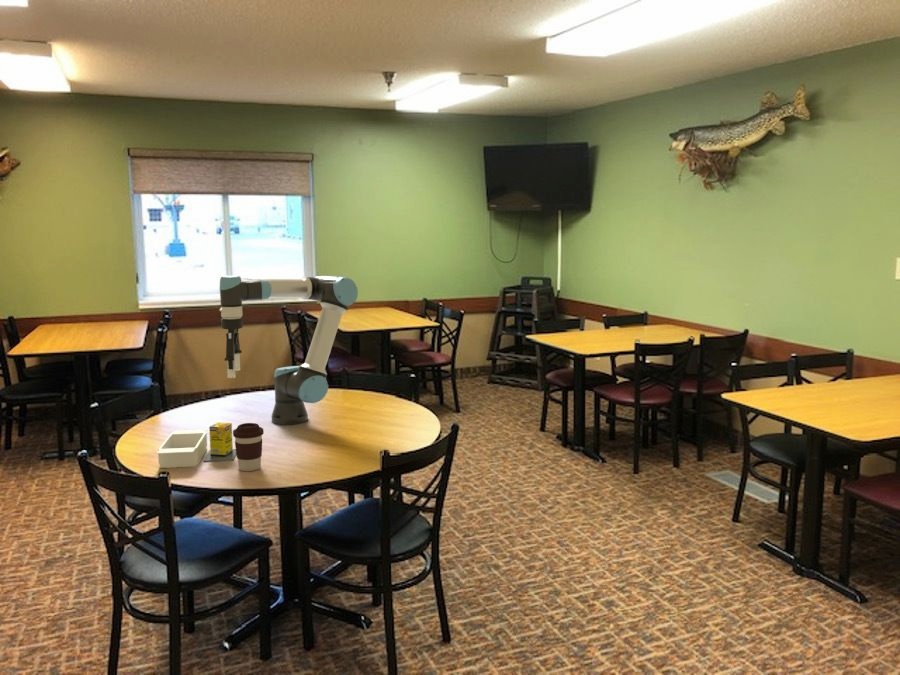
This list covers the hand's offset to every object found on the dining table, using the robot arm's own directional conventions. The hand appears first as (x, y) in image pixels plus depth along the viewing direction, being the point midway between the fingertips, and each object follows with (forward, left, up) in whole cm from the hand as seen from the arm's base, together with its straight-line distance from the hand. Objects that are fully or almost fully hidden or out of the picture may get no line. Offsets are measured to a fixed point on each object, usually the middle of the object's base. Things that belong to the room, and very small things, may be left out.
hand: (234, 374), depth 260 cm
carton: (+16, +16, -27) cm, 35 cm away
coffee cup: (-8, +30, -27) cm, 41 cm away
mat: (+4, +15, -27) cm, 31 cm away
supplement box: (+3, +14, -26) cm, 30 cm away
